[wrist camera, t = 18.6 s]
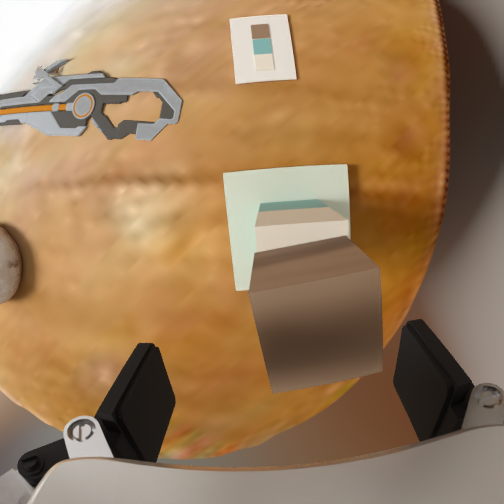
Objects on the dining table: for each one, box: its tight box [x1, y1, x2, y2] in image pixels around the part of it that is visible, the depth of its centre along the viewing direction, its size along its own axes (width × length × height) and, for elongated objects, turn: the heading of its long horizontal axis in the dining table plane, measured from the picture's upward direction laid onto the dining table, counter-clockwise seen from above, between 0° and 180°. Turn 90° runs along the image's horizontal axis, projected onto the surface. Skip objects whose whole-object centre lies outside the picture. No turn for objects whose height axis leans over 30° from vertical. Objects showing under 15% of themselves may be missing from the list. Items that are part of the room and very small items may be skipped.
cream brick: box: [255, 207, 349, 252], centre depth 21 cm, size 6×6×6 cm
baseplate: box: [223, 164, 351, 291], centre depth 30 cm, size 12×12×1 cm
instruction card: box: [230, 14, 296, 84], centre depth 26 cm, size 8×6×1 cm
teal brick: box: [259, 199, 328, 212], centre depth 27 cm, size 6×6×6 cm
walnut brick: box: [249, 235, 383, 393], centre depth 16 cm, size 6×6×6 cm
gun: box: [0, 59, 182, 141], centre depth 27 cm, size 39×2×10 cm
